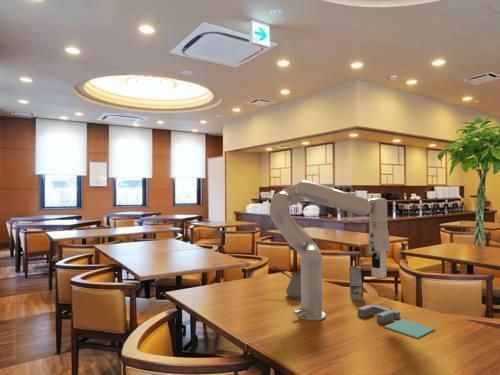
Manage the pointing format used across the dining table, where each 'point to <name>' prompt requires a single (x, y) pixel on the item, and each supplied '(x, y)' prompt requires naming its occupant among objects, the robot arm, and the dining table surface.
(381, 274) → the steel bar
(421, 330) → the mat
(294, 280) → the coffee pot
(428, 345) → the dining table surface
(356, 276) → the coffee box
